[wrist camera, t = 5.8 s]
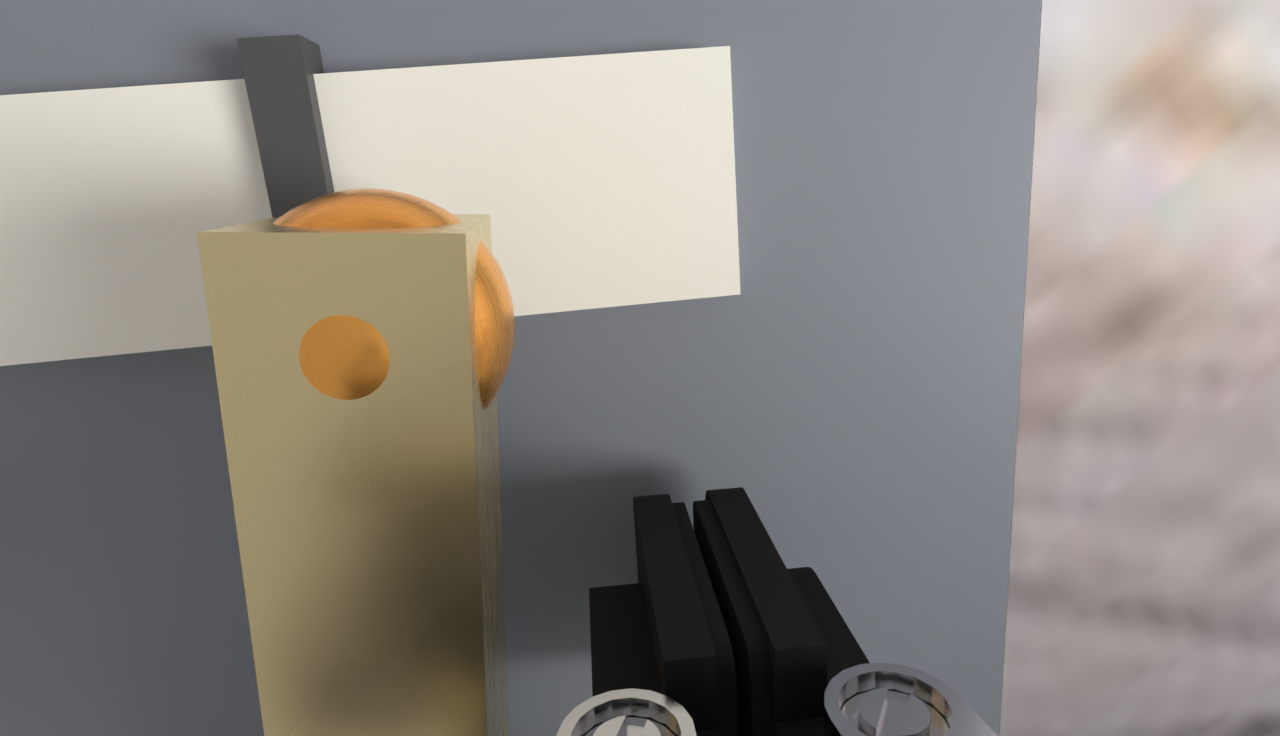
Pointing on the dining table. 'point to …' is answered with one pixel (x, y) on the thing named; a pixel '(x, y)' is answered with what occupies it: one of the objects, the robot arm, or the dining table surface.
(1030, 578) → the dining table surface
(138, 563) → the stand
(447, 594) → the dial lever
